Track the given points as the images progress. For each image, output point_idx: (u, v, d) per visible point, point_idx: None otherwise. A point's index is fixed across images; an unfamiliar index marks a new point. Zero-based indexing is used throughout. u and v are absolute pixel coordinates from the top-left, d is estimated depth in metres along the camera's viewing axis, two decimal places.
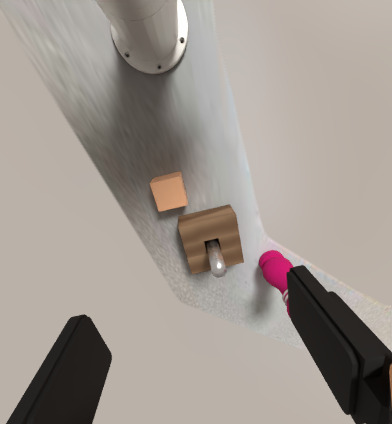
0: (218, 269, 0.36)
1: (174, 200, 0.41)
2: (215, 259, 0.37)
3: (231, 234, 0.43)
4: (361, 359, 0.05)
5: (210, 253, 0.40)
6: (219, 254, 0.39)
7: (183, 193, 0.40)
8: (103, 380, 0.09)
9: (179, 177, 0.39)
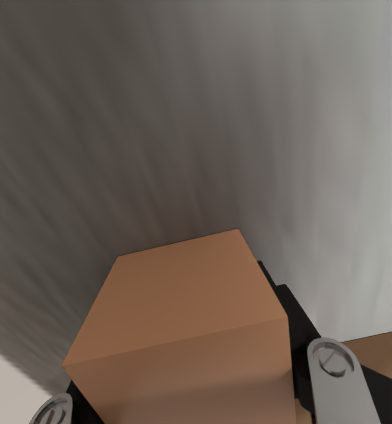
0: None
1: None
2: None
3: None
4: None
5: None
6: None
7: (285, 396, 0.06)
8: None
9: (278, 323, 0.05)
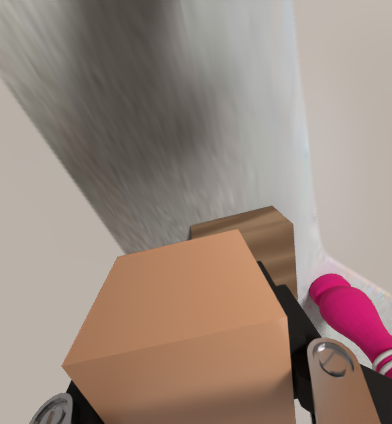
0: None
1: None
2: None
3: (282, 256, 0.25)
4: None
5: None
6: None
7: (285, 396, 0.07)
8: None
9: (278, 323, 0.05)
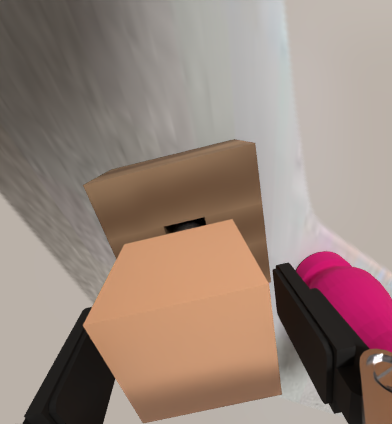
0: None
1: (220, 383, 0.08)
2: None
3: (240, 206, 0.15)
4: (334, 349, 0.06)
5: None
6: None
7: (270, 357, 0.08)
8: None
9: (261, 289, 0.06)
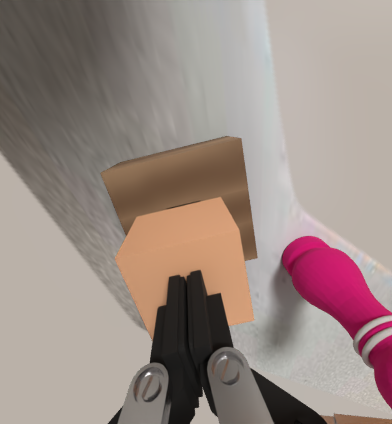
0: None
1: None
2: None
3: (230, 191, 0.18)
4: (195, 348, 0.07)
5: None
6: None
7: (243, 287, 0.11)
8: None
9: (235, 234, 0.10)
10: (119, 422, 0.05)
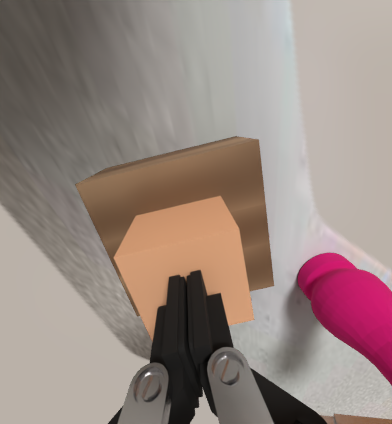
0: None
1: None
2: None
3: (242, 206, 0.14)
4: (195, 348, 0.07)
5: None
6: None
7: (243, 287, 0.11)
8: None
9: (234, 233, 0.10)
10: (119, 422, 0.05)
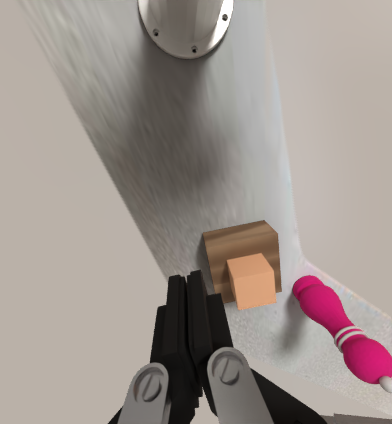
0: None
1: (260, 297, 0.31)
2: None
3: (270, 257, 0.35)
4: (195, 348, 0.07)
5: None
6: None
7: (273, 290, 0.31)
8: None
9: (272, 272, 0.30)
10: (119, 422, 0.05)
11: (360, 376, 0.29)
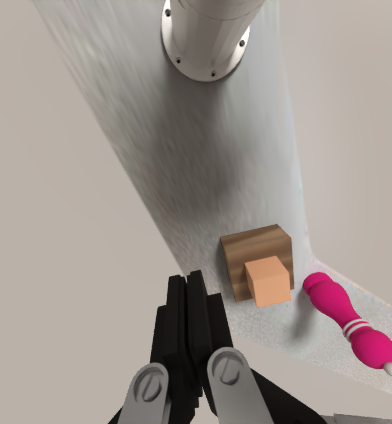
0: None
1: (276, 296, 0.35)
2: None
3: (284, 259, 0.39)
4: (195, 348, 0.07)
5: None
6: None
7: (288, 289, 0.35)
8: None
9: (287, 274, 0.34)
10: (119, 422, 0.05)
11: (366, 362, 0.33)
